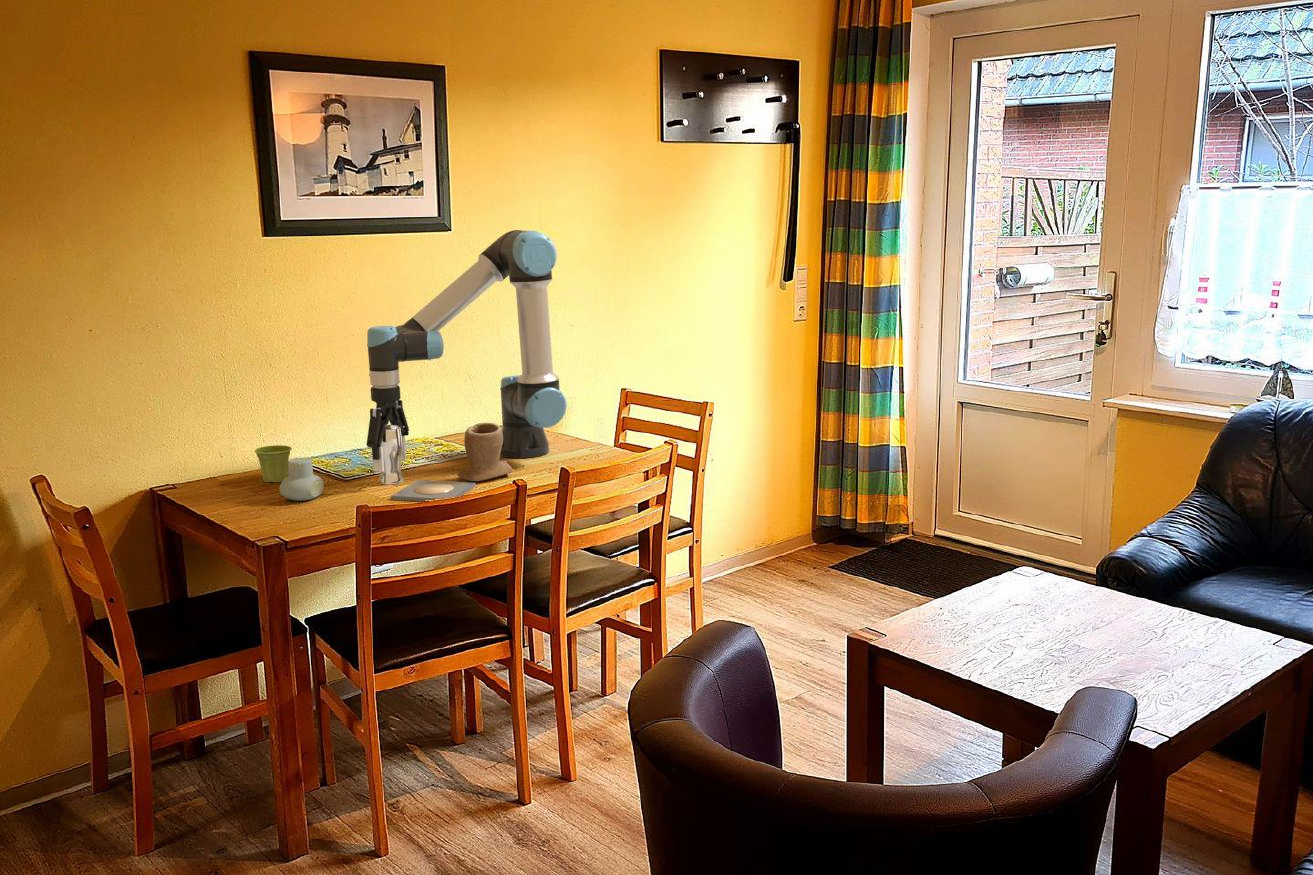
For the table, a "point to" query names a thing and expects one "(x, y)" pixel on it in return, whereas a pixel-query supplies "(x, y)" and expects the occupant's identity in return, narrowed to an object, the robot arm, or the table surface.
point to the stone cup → (484, 453)
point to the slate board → (432, 490)
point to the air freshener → (301, 481)
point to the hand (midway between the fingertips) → (390, 465)
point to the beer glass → (391, 455)
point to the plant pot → (274, 462)
